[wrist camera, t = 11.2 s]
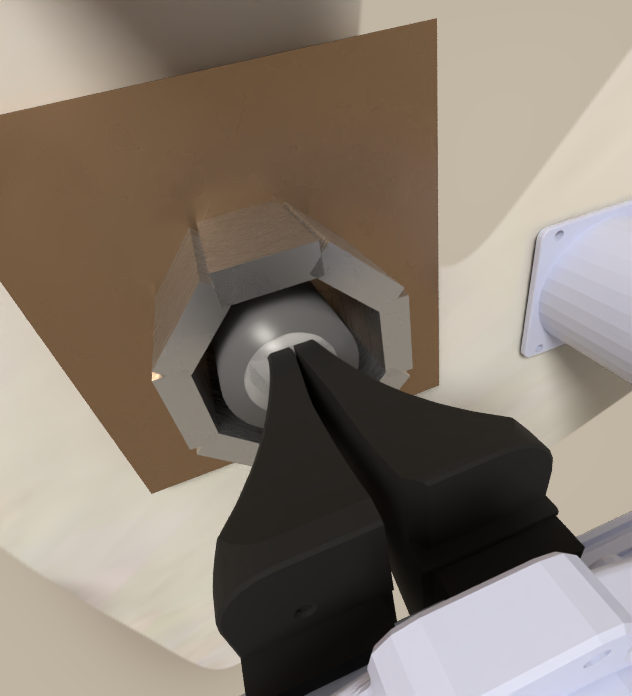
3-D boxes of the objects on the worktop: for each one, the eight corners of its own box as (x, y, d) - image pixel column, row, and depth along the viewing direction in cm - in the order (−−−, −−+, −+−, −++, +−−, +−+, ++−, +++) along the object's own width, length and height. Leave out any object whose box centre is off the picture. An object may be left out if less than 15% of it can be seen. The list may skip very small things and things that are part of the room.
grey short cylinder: (296, 237, 15) (343, 287, 11) (323, 329, 18) (369, 397, 14) (186, 278, 15) (194, 346, 11) (231, 366, 17) (250, 448, 13)
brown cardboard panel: (421, 22, 14) (559, -17, 9) (429, 375, 23) (499, 449, 18) (-84, 134, 11) (-267, 164, 6) (152, 478, 21) (148, 595, 16)
